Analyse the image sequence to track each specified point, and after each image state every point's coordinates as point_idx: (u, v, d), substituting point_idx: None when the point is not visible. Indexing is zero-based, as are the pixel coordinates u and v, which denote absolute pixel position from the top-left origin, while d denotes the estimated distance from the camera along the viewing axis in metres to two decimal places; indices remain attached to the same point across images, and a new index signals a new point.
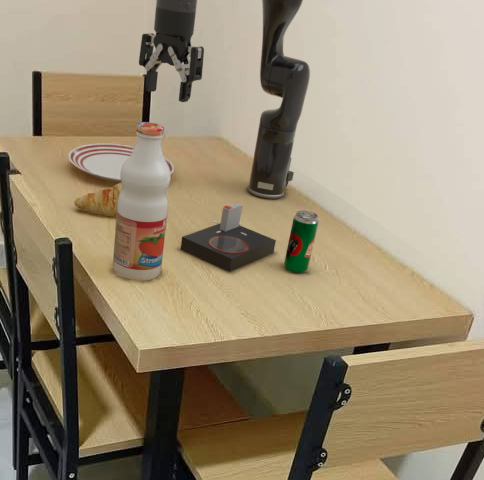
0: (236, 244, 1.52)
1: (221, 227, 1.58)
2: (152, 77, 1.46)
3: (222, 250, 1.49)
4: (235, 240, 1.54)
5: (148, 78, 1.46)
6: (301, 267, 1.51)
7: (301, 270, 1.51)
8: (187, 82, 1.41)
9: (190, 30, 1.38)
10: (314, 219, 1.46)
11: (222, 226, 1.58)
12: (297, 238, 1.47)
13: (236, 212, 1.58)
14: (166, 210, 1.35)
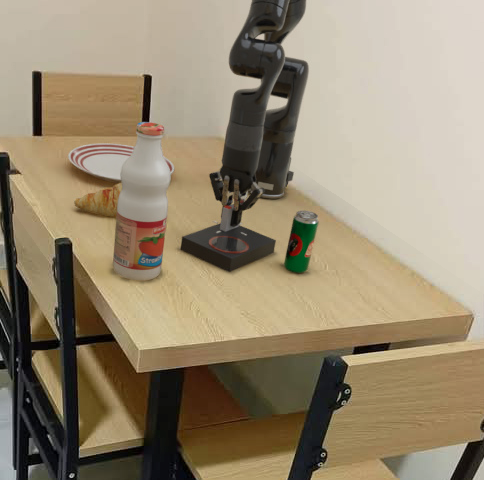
0: (236, 244, 1.52)
1: (221, 227, 1.58)
2: None
3: (222, 250, 1.49)
4: (235, 240, 1.54)
5: None
6: (301, 267, 1.50)
7: (301, 270, 1.51)
8: (238, 211, 1.56)
9: (255, 165, 1.51)
10: (314, 219, 1.46)
11: (222, 226, 1.58)
12: (297, 238, 1.47)
13: None
14: (166, 210, 1.35)
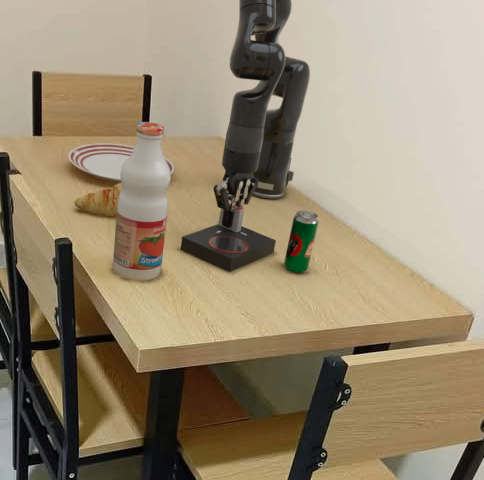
0: (236, 244, 1.52)
1: (237, 229, 1.58)
2: None
3: (222, 250, 1.49)
4: (235, 240, 1.54)
5: (232, 217, 1.57)
6: (301, 267, 1.50)
7: (301, 270, 1.51)
8: None
9: None
10: (314, 219, 1.46)
11: (238, 228, 1.58)
12: (297, 238, 1.47)
13: None
14: (166, 210, 1.35)
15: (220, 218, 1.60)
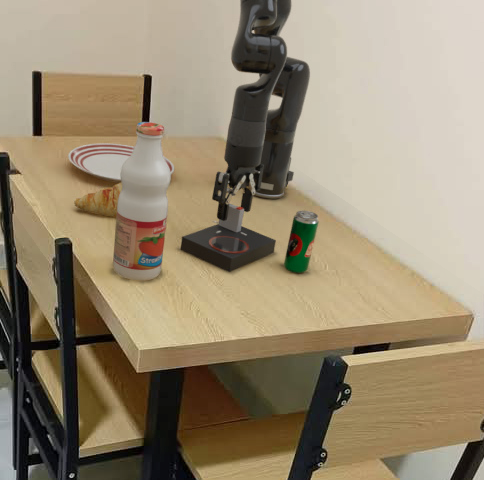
0: (236, 244, 1.52)
1: (237, 229, 1.58)
2: None
3: (222, 250, 1.49)
4: (235, 240, 1.54)
5: (227, 209, 1.54)
6: (301, 267, 1.50)
7: (301, 270, 1.51)
8: None
9: None
10: (314, 219, 1.46)
11: (238, 228, 1.58)
12: (297, 238, 1.47)
13: None
14: (166, 210, 1.35)
15: None
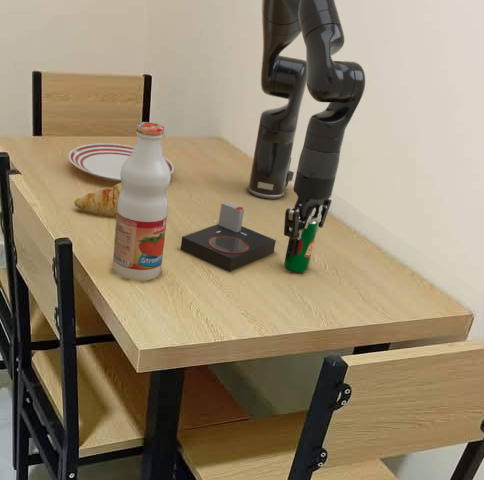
0: (236, 244, 1.52)
1: (237, 229, 1.58)
2: None
3: (222, 250, 1.49)
4: (235, 240, 1.54)
5: (298, 245, 1.47)
6: (301, 267, 1.51)
7: (301, 270, 1.51)
8: None
9: None
10: (314, 219, 1.46)
11: (238, 228, 1.58)
12: None
13: None
14: (166, 210, 1.35)
15: (220, 218, 1.60)
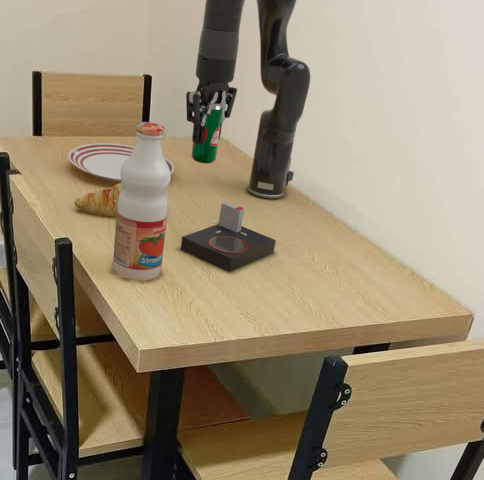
0: (236, 244, 1.52)
1: (237, 229, 1.58)
2: None
3: (222, 250, 1.49)
4: (235, 240, 1.54)
5: (203, 132, 1.48)
6: (208, 156, 1.51)
7: (208, 159, 1.51)
8: None
9: None
10: (217, 105, 1.46)
11: (238, 228, 1.58)
12: None
13: None
14: (166, 210, 1.35)
15: (220, 218, 1.60)
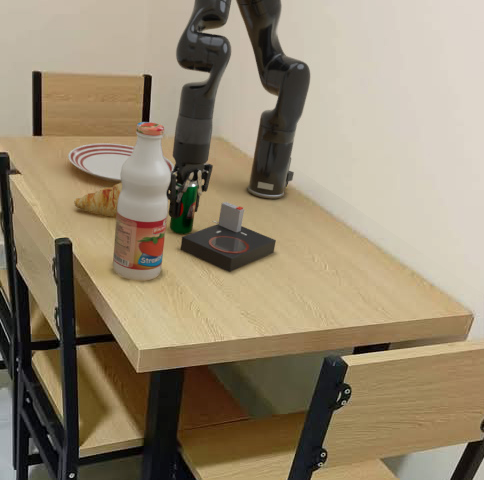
0: (236, 244, 1.52)
1: (237, 229, 1.58)
2: None
3: (222, 250, 1.49)
4: (235, 240, 1.54)
5: (178, 207, 1.57)
6: (184, 229, 1.61)
7: (184, 231, 1.61)
8: None
9: None
10: (193, 182, 1.56)
11: (238, 228, 1.58)
12: None
13: None
14: (166, 210, 1.35)
15: (220, 218, 1.60)
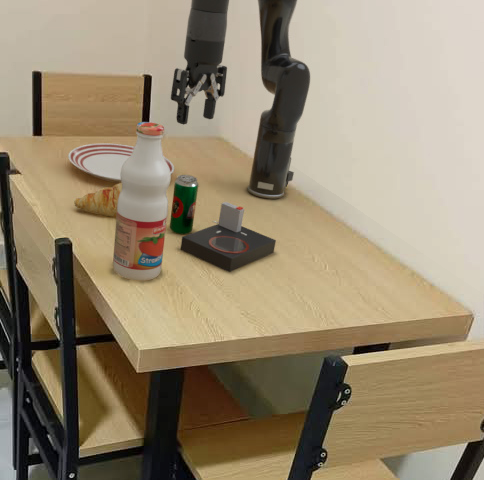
0: (236, 244, 1.52)
1: (237, 229, 1.58)
2: None
3: (222, 250, 1.49)
4: (235, 240, 1.54)
5: (187, 112, 1.46)
6: (184, 229, 1.61)
7: (184, 231, 1.61)
8: None
9: None
10: (193, 182, 1.56)
11: (238, 228, 1.58)
12: (178, 200, 1.57)
13: None
14: (166, 210, 1.35)
15: (220, 218, 1.60)
